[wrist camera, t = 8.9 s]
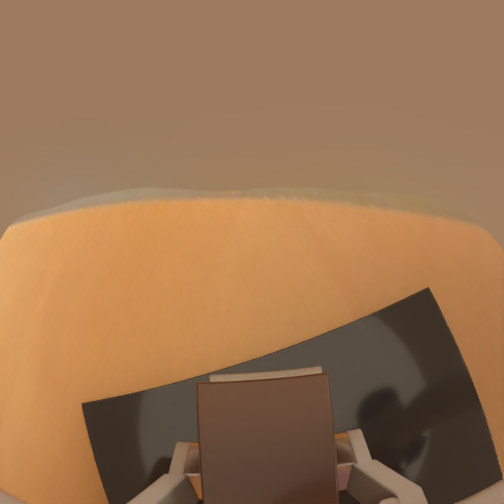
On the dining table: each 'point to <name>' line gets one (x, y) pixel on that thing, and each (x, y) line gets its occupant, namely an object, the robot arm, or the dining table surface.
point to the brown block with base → (267, 438)
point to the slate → (343, 407)
